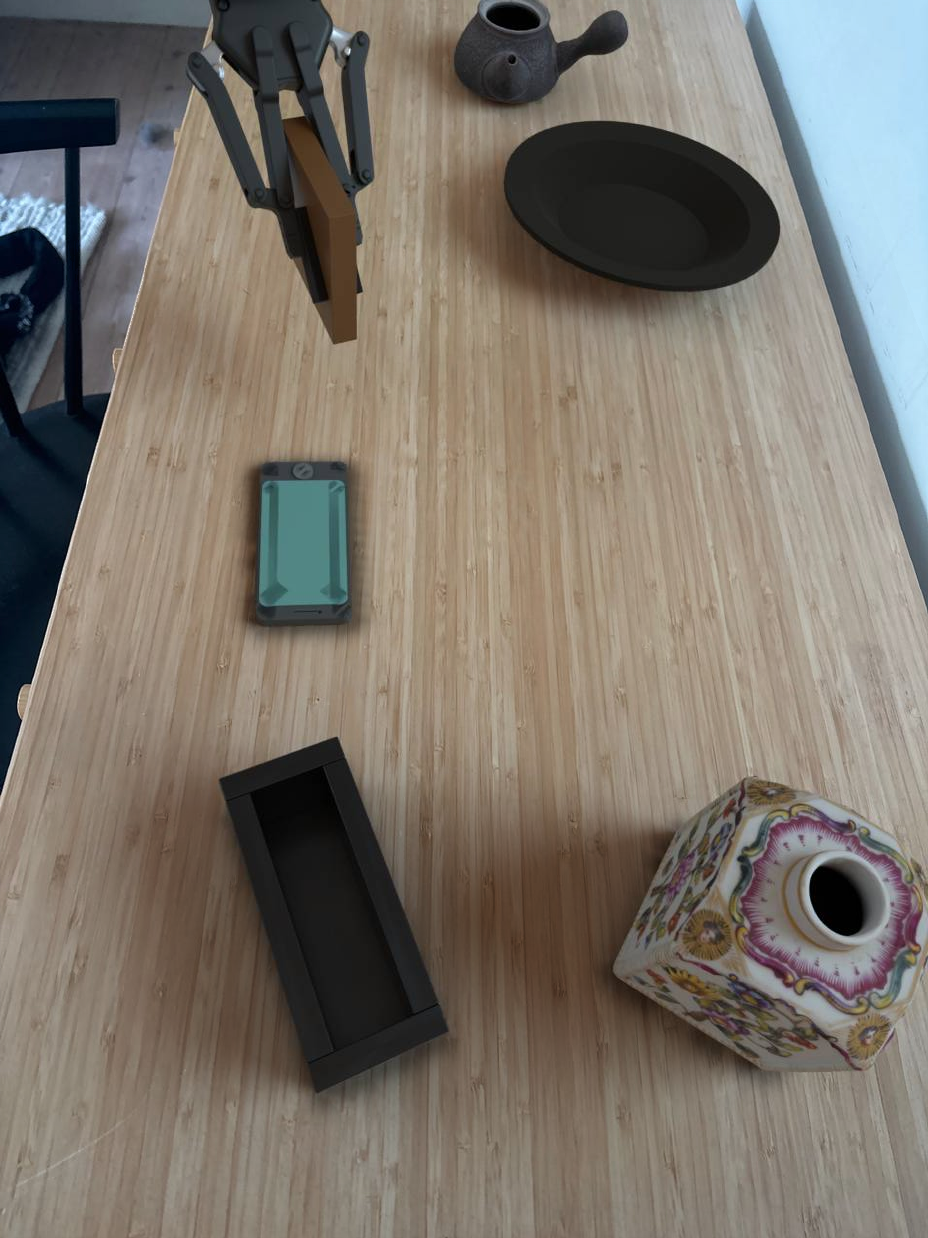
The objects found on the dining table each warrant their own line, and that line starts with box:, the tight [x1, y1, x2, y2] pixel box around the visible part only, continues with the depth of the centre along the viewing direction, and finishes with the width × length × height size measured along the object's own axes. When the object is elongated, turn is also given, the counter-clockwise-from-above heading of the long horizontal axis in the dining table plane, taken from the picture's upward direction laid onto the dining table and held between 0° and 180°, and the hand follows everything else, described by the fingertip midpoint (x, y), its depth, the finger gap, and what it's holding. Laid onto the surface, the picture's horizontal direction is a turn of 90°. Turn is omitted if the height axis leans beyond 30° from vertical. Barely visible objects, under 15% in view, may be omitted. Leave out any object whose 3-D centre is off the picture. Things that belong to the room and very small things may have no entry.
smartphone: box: [254, 460, 353, 627], centre depth 70 cm, size 7×1×15 cm
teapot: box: [453, 0, 629, 104], centre depth 98 cm, size 19×15×10 cm
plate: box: [503, 120, 781, 293], centre depth 88 cm, size 28×24×6 cm
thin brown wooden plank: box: [282, 115, 358, 346], centre depth 66 cm, size 11×2×12 cm, turn 23°
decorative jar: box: [612, 775, 928, 1073], centre depth 51 cm, size 12×12×18 cm
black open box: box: [218, 735, 450, 1095], centre depth 53 cm, size 18×8×9 cm, turn 23°
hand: (337, 297), depth 67 cm, fingers closed on thin brown wooden plank, 2 cm apart
